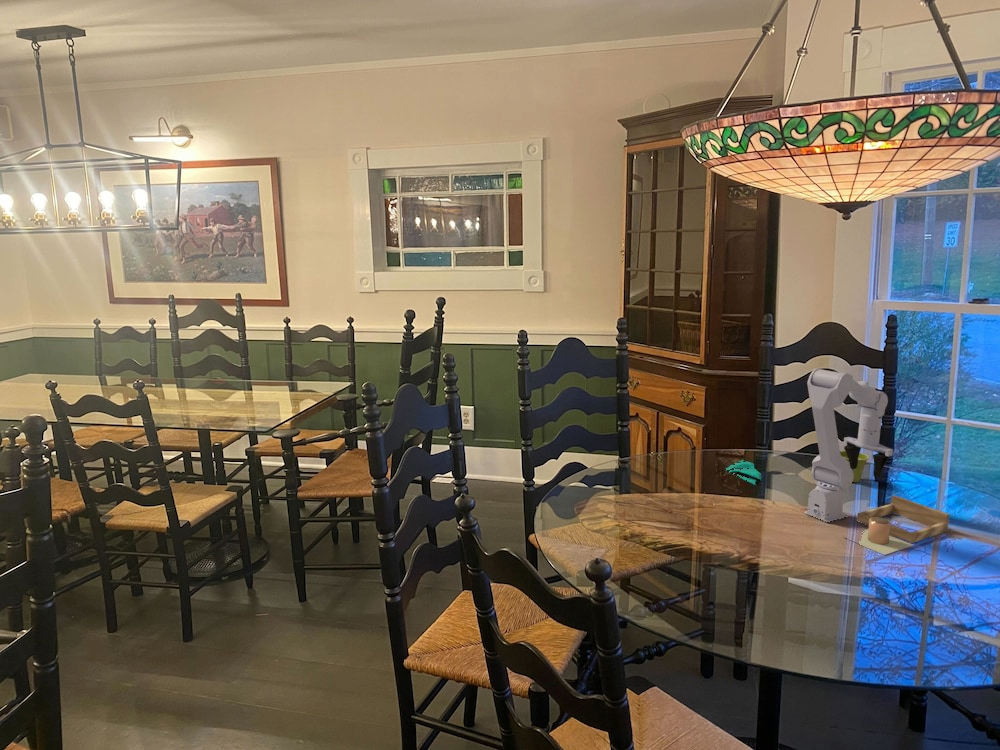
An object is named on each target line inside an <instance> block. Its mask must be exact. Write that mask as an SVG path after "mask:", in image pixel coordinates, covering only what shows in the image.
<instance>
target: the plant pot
mask: <svg viewBox="0 0 1000 750" xmlns="http://www.w3.org/2000/svg"><path fill="white" fill-rule="evenodd" d="M840 455H841V456H842V457H843V458H845V459H846V460H847V461H848V462H849V459H848V456H847V453H846V451H845V450H840ZM868 460H869V456H868V455H867V454H865V453H862V452H860V453H859V457H858V464H857V468H856V469H852V471H853V475H854V477H853V481H852V482H857V483H859V481H860V482H861V479H862V475H863V472H864V469H865V465H866V463H867V462H868Z"/></svg>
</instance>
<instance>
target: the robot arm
mask: <svg viewBox="0 0 1000 750" xmlns="http://www.w3.org/2000/svg"><path fill="white" fill-rule="evenodd" d="M806 384H807V390H808V396H809V400H810V401H811V408H812V416H813V420H814V421H813V422H814V427H815V434H816V440H817V446H818V452H819V454H818V455H817V456H816V457H814V458H813V460H812V462H811V464H812V469H811V477H812V479H813V480H814V481H815V482H814V483H815V484H816V487H815V488H813V489H812V490H811V491H810V492H809V493H808V499H807V500H808V501H807V509H806V510H805V511H804V514H805V515H808V516H811V517H812V516H813V518H815V517H816V518H815V519H817V518H818V520H820V519H821V520H820V521H822V520H824V521H823V522H825V521H826V522H825V523H827V522H829V523H831V522H830V521H832V522H834V521H833V520H836V521H838V520H837V519H839V520H841V519H840V518H842V519H845V518H844V517H846V518H848V516H849V517H850V515H849V514H847V513H844V512H843V511H844V499H845V491H846V490H847V489H849V488H850V486H852V481H853V477H854V475H853V471H852V469H856V468H857V464H858V457H859V453H861V450H862V449H863V450H866V451H871V452H874V453H873V454H872V459H873V472H872V474H873V478H877V477H880V476H881V474H882V471H883V469H884V467H885V465H886V463H888V461H889V460H890V458H891V457H892V456H893V454H894V449H893V448H890V447H888V446H885V445H883V444H880V437H881V427H882V419H883V418H882V417H883V416H884V415H885V410H886V409H887V406H888V402H889V399H888V395H887V394H886V393H885V392H884V391H882V390H881V391H880V390H876V388H875V387H874V386H871V385H869V382H868V381H867V380H861V381H856V380H855V379H854V376H853V374H850V373H848V372H838V371H833V370H832V371H831V370H826V369H821V368H818V367H815V368H814V369H813V370H812V372H811V373H810V375H809V376H808V379H807V383H806ZM848 395H849V397H850V398H851V399H852V400H854V401H856V402H857V406H858V407H859V408H860V415H859V421H858V423H859V425H858V433H857V438H855V437H851V436H847V437H844V438H843V444H845V446H844V447H843V450H844V451H846V453H847V456H848V459H849V462H848V461H847V460H846V459H845V458H843V457H842V456H841V455H840V451H841V449H840V443H839V437H838V430H837V422H836V415H835V408H839V407H841V406H842V405H843V403H844V401H845V400H846V398H847V397H848Z"/></svg>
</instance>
